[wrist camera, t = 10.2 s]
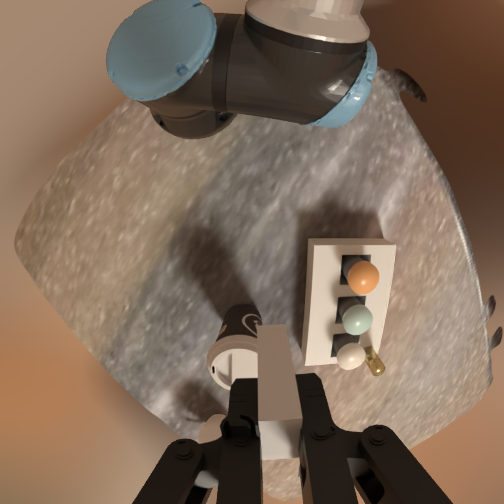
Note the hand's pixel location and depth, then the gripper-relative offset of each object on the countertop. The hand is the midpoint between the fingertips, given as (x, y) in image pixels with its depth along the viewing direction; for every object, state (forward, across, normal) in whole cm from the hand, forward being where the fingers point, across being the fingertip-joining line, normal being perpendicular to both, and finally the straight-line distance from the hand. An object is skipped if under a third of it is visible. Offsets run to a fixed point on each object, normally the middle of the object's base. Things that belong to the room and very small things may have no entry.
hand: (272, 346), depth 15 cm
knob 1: (+33, +15, -7) cm, 37 cm away
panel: (+33, +14, -14) cm, 38 cm away
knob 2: (+33, +14, -14) cm, 38 cm away
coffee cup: (+33, -4, -17) cm, 37 cm away
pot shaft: (+28, +19, -23) cm, 40 cm away
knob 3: (+33, +14, -21) cm, 41 cm away
